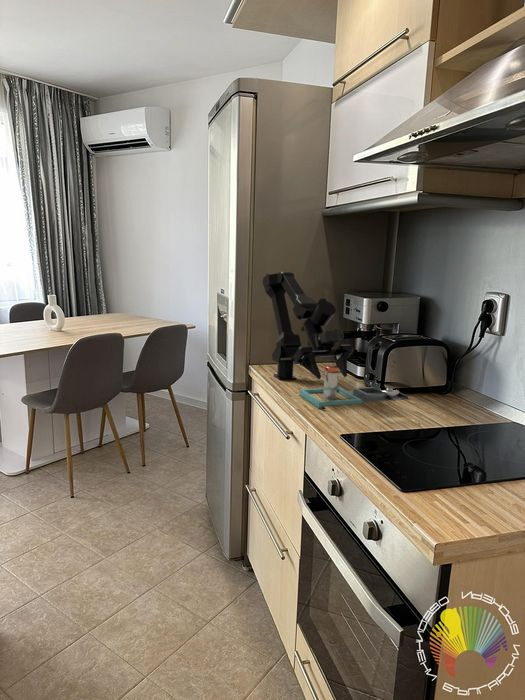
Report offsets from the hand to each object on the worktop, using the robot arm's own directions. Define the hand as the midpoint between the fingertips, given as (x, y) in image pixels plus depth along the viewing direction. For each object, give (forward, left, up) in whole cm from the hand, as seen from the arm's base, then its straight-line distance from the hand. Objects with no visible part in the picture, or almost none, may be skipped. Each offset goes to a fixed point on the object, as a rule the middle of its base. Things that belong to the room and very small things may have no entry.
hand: (333, 377), depth 148 cm
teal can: (-16, +28, -8) cm, 33 cm away
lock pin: (-1, 0, -7) cm, 7 cm away
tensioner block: (-1, +16, -8) cm, 18 cm away
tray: (-1, 0, -8) cm, 8 cm away
